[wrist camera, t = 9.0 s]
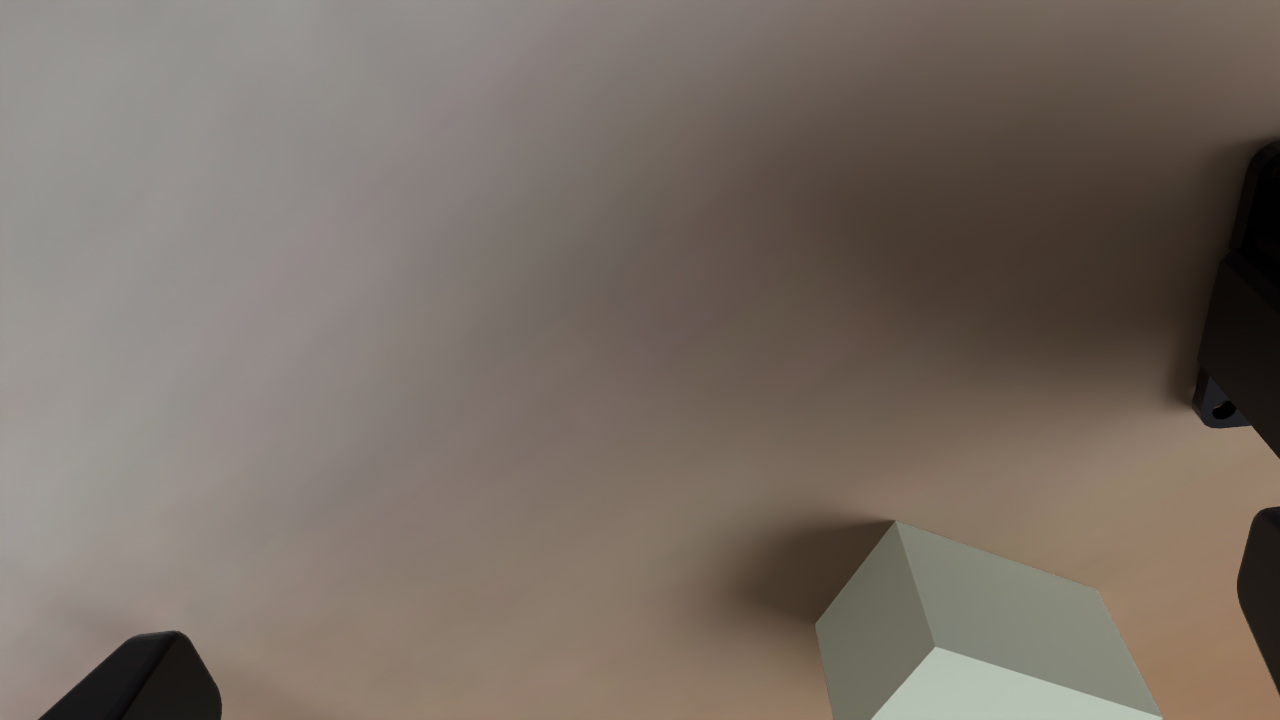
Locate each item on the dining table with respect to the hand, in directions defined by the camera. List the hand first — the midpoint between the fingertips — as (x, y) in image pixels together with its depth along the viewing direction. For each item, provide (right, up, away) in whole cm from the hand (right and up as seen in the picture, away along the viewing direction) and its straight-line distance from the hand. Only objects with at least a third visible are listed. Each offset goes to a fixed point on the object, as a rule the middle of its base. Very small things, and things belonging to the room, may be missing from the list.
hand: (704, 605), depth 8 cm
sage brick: (+8, -4, +18) cm, 20 cm away
